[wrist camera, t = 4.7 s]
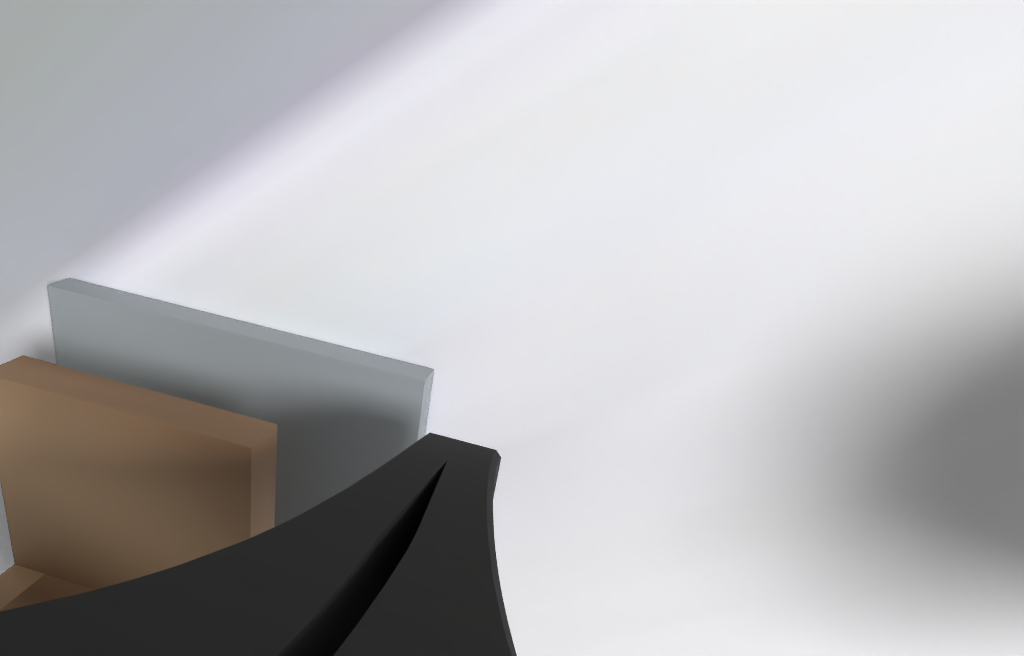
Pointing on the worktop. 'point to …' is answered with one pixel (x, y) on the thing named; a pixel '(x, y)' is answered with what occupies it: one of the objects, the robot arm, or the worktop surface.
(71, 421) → the catapult lever
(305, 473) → the stand
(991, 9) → the worktop surface
